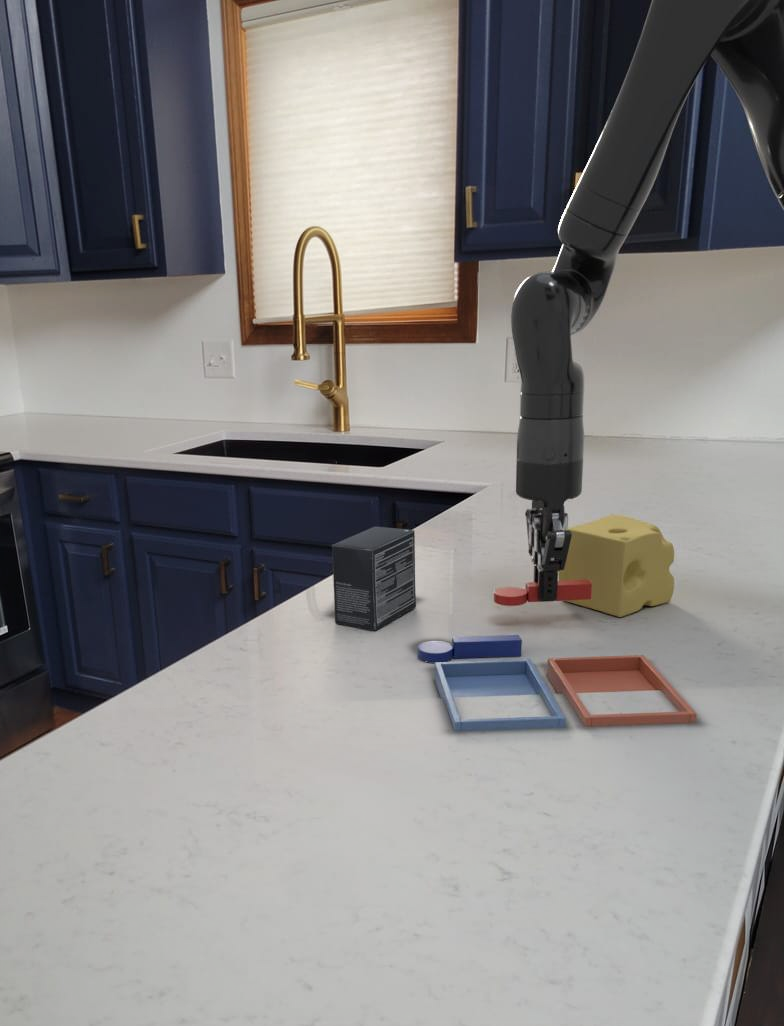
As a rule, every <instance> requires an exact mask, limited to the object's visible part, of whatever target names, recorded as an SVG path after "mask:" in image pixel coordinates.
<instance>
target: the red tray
mask: <svg viewBox="0 0 784 1026" xmlns="http://www.w3.org/2000/svg"><path fill="white" fill-rule="evenodd" d="M546 664H547V665H546V676H547V678H548V680H549V681H550V683H551V685H552V687H553V688H554V689H555V691H556V693H557V694H558V695H565V697H566V699H567V701H568V702H569V704H570V705H571V706H572V708H573V710H574V711H575V713H576V715H577V716H578V718H579V720H580V721H581V723H582V725H584V727H604V726H607V727H608V726H631V725H632V726H633V725H635V726H636V725H637V726H638V725H661V724H662V725H663V724H664V725H666V724H689V723H690V724H692V723H697V712H696V711H695V709H693V708H692V707H691V706H690V704H689V703H688V702H687V701H686V700H685V699H684V697H682V696H681V694H680V693H679V692H678V691H677V690H676V689H675V688H674V686H673V685H671V683H669V681H668V680H667V679H666V678H665V677H664V676H663V674H662V673H661V672H660V671H659V669H657V668H656V667H655V666H654V664H653V663H651V661H650V660H649V659H648V658H647V657H646V656H645V655H644V654H631V655H630V654H629V655H603V656H601V655H599V656H579V657H578V656H575V657H554V658H553V657H549V658H547V662H546ZM649 691H661V692H662V693H663V694H664V695H665V697H666V698H667V699H668V700H669V701H670V702H671V703H672V705H673V706H674V707H675V708H676V709H677V711H660V712H659V711H658V712H634V713H633V712H631V713H606V714H605V713H603V714H601V713H600V714H590V713H589V711H588V709H587V707H585V705H584V703H583V702H582V700H581V699H580V697H579V695H578V694H589V693H590V694H591V693H592V694H593V693H619V692H620V693H621V692H623V693H624V692H649Z"/></svg>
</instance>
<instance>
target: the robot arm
mask: <svg viewBox="0 0 784 1026" xmlns="http://www.w3.org/2000/svg"><path fill="white" fill-rule="evenodd" d="M710 57H712V59H713V60H714V62H715V64H717V66H718V68H720V70H721V72H722V73H723V75H724V76H725V78H726V80H727V81H728V82H729V84H730V85H731V87H732V89H733V91H734V92H735V94H736V96H737V97H738V99H739V101H740V104H741V106H742V108H743V111H744V113H745V116H746V117H745V118H746V120H747V123H748V127H749V130H750V133H751V137H752V140H753V143H754V147H755V149H756V152H757V155H758V158H759V161H760V163H761V166H762V168H763V170H764V173H765V176H766V178H767V180H768V183H769V185H770V187H771V189H772V191H773V193H774V196H775V197H776V198H777V201H778V203H779V204H780V207H781V208H782V210H783V211H784V0H651V3H650V6H649V9H648V12H647V16H646V19H645V22H644V25H643V27H642V31H641V35H640V37H639V40H638V42H637V46H636V48H635V51H634V54H633V57H632V59H631V62H630V65H629V68H628V70H627V72H626V75H625V78H624V80H623V83H622V85H621V88H620V90H619V93H618V95H617V98H616V100H615V102H614V105H613V107H612V109H611V112H610V114H609V116H608V119H607V121H606V123H605V125H604V127H603V129H602V131H601V134H600V136H599V138H598V140H597V143H596V144H595V146H594V149H593V151H592V154H591V155H590V157H589V159H588V162H587V163H586V166H585V168H584V169H583V172H582V174H581V176H580V178H579V180H578V182H577V184H576V187H575V189H574V190H573V193H572V195H571V197H570V199H569V201H568V203H567V205H566V208H564V212H563V214H562V215H561V219H560V220H559V221H560V222H559V224H558V228H557V235H558V238H559V241H560V242H561V243H562V245H561V248H560V251H559V254H558V257H557V259H556V262H555V265H554V267H553V269H552V271H541V272H537V273H534V274H531V275H529V276H528V277H527V278H526V279H524V280H523V281H522V283H521V284H520V285H519V287H518V288H517V289H516V292H515V294H514V298H513V301H512V306H511V313H510V325H511V326H510V327H511V334H512V340H513V341H512V342H513V346H514V352H515V357H516V363H517V367H518V370H519V374H520V393H519V423H518V428H517V433H516V434H517V435H516V465H515V467H516V468H515V470H516V471H515V478H516V479H515V493H516V495H517V496H518V497H519V498H521V499H523V500H528V501H531V508H526V510H525V512H524V513H525V514H524V515H525V521H526V533H527V542H528V550H527V551H528V555H529V557H531V559H530V561H531V563H532V565H533V581H532V582H538V599H539V600H540V601H541V602H542V603H548V602H556V601H555V600H556V599H557V586H558V581H559V571H560V570H564V568H565V563H566V559H567V555H568V550H569V546H570V542H571V538H572V534H571V531H570V530H566V528H568V527H569V515H568V513H567V512H565V502H566V501H568V500H573V499H576V498H578V497H579V496H580V495H582V492H583V475H584V473H583V472H584V452H585V451H584V450H585V427H584V415H583V414H584V402H585V373H584V369H583V367H582V366H581V365H580V363H577V362H575V361H574V359H573V346H572V336H574V335H577V334H579V333H580V332H582V331H583V330H585V328H587V327H588V325H589V324H590V323H591V322H592V321H593V320H594V318H595V316H596V315H597V314H598V311H599V309H600V308H601V306H602V304H603V301H604V299H605V296H606V294H607V291H608V288H609V284H610V283H611V282H610V281H611V279H612V276H613V273H614V270H615V267H616V262H617V258H618V255H619V252H620V250H621V248H622V246H623V244H624V242H625V241H626V239H627V237H628V235H629V233H630V232H631V230H632V228H633V226H634V224H635V222H636V220H637V218H638V216H639V214H640V213H641V210H642V209H643V207H644V205H645V203H646V201H647V199H648V197H649V195H650V193H651V190H652V189H653V186H654V184H655V181H656V179H657V177H658V174H659V171H660V169H661V166H662V164H663V162H664V158H665V156H666V152H667V149H668V147H669V143H670V140H671V138H672V134H673V131H674V129H675V126H676V124H677V121H678V118H679V116H680V114H681V111H682V109H683V107H684V105H685V103H686V100H687V98H688V96H689V95H690V92H691V90H692V88H693V86H694V84H695V83H696V81H697V78H698V76H699V75H700V73H701V71H702V70H703V68H704V66H705V65H706V63H707V61H708V60H709V58H710ZM541 602H540V603H541Z"/></svg>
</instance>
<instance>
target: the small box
mask: <svg viewBox="0 0 784 1026" xmlns="http://www.w3.org/2000/svg"><path fill="white" fill-rule="evenodd" d="M415 532H416V531H415V529H406V528H396V527H395V528H394V527H385V526H376V525H375V526H373V527H370V528H368V529H366V530H364V531H361V532H359V533H357V534H354V535H352V536H350V537H347V538H344V539H342V540H340V541H338V542H336V543H334V544H333V543H332V544H331V553H332V554H331V555H332V557H331V558H332V577H333V600H334V602H333V603H334V605H333V606H334V623H335V624H338V625H342V626H346V627H347V626H348V627H353V628H357V629H363V630H364V629H365V630H367V629H368V631H374V630H376V631H378V630H379V629H381V628H383V627H384V626H386V625H388V624H389V623H392V622H393V621H395V620H396V619H398V618H400V617H402V616H404V615H405V614H407V613H409V612H410V611H412V610H413V609H415V608H416V607H417V596H416V550H415V549H416V545H415V544H416V541H415V539H416V538H415ZM377 629H378V630H377ZM374 632H375V631H374Z"/></svg>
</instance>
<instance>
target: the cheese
mask: <svg viewBox="0 0 784 1026" xmlns="http://www.w3.org/2000/svg"><path fill="white" fill-rule="evenodd" d="M566 530H570V531H571V534H572V538H571V542H570V546H569V550H568V555H567V559H566V563H565V568H564V570H560V571H558V581H568V580H589V581H590V582H591V583H592V592H591V599H586V600H566V601H565V602H567V603H571V604H574V605H577V606H581V607H584V608H588V609H592V610H595V611H599V612H601V613H605V614H608V615H611V616H614V617H619V618H623V617H625V616H628V615H631V614H633V613H636V612H639V611H640V610H641V609H642V608H643V606H649V607H656V606H659V605H664V604H667V603H669V602H671V600H672V598H673V594H674V590H675V578H674V576H673V574H672V573H671V570H670V567H671V565H673V563H674V562H675V547H674V545H673V543H672V542H670V541H669V540H666V539H665V537H664V535H663V534H662V531H661V529H660V528H659V527H658V526H657V525H655V524H653V523H649V522H646V521H643V520H640V519H636V518H633V517H630V516H626V515H620V514H612V513H611V514H609V515H606V516H603V517H600V518H598V519H596V520H592V521H589V522H586V523H582V524H577V525H574V526H568V527H567V528H566Z"/></svg>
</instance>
